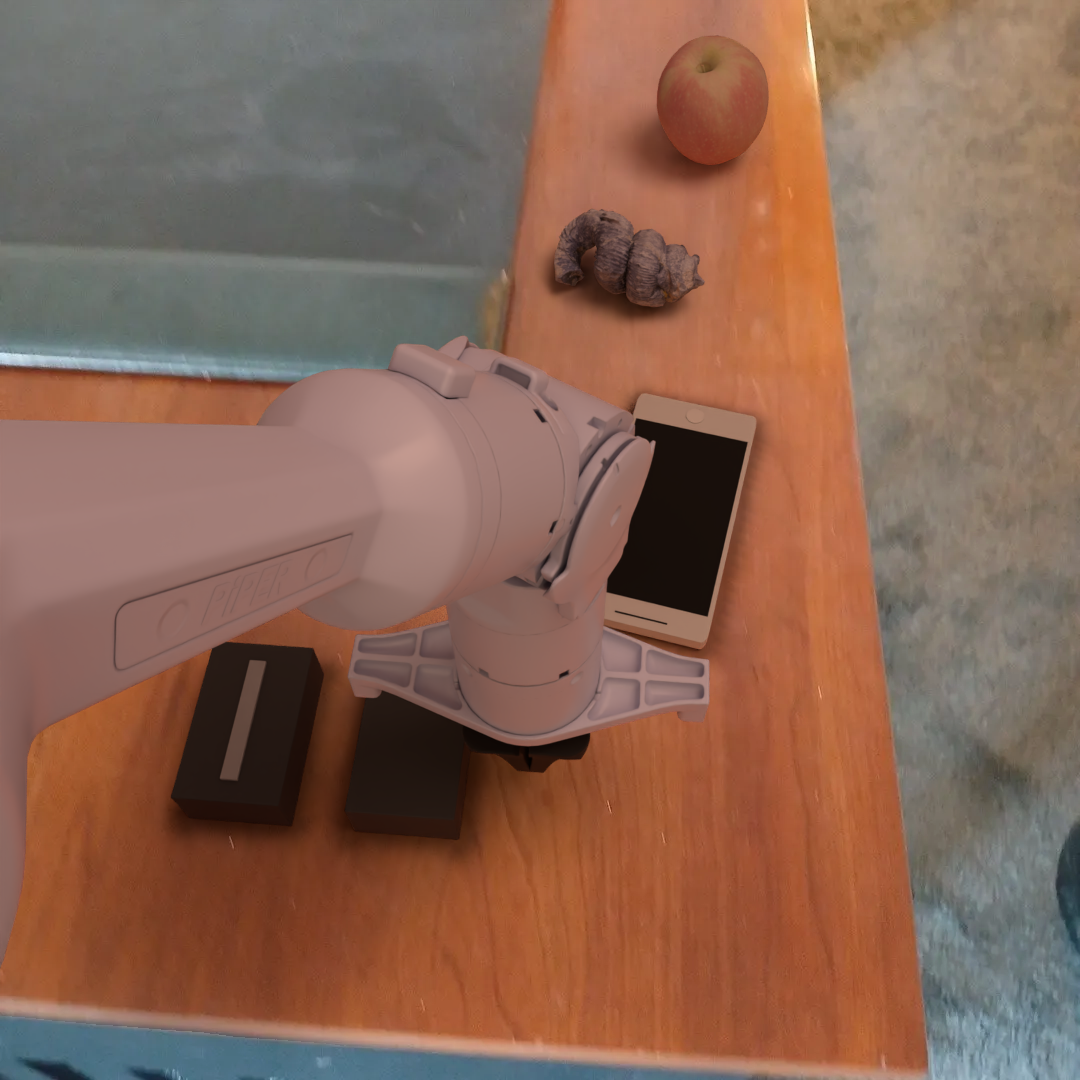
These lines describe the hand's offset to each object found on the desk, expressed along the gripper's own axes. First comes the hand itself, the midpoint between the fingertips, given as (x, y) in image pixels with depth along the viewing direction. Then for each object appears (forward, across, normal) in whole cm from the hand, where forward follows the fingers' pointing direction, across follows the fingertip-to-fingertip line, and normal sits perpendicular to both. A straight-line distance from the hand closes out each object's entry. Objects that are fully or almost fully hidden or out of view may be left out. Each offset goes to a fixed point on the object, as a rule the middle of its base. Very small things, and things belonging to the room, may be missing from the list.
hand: (532, 752), depth 50 cm
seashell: (+2, -3, -33) cm, 33 cm away
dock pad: (+2, +14, 0) cm, 14 cm away
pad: (+2, +6, 0) cm, 6 cm away
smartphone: (+2, -6, -15) cm, 16 cm away
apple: (+2, -8, -47) cm, 48 cm away
